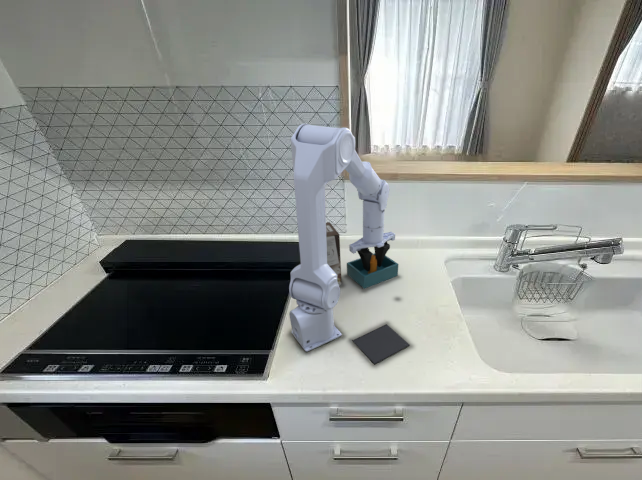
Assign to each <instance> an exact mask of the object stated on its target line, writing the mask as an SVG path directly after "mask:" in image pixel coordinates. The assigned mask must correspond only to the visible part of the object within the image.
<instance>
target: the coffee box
mask: <svg viewBox="0 0 642 480" xmlns="http://www.w3.org/2000/svg"><path fill="white" fill-rule="evenodd" d="M340 237H341V236H340V233H339V232H338V230H337V229H336V228H335V227H334V226H333V224H332V222H330V221H326V242H327V264H328V265H329V266H330V268H331V269H332V270H333V271H334V272H335V273H336V274H337V282H338V284H339V286H341V285H342V284H343V281H342V265H341V264H342V263H341V239H340Z"/></svg>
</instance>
